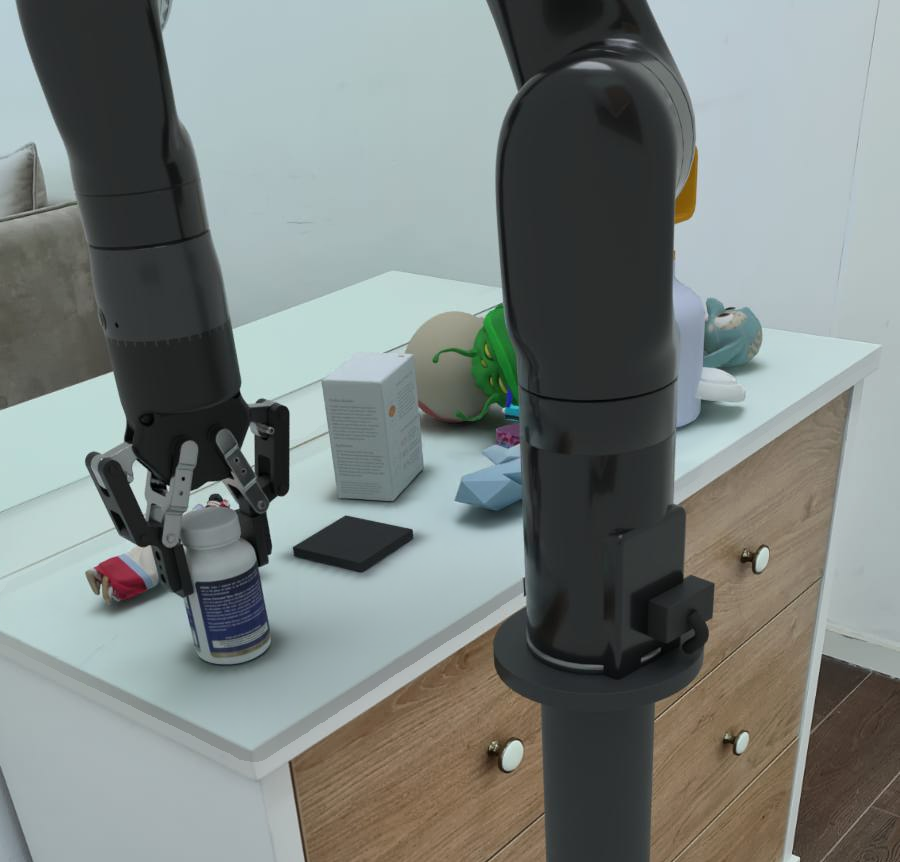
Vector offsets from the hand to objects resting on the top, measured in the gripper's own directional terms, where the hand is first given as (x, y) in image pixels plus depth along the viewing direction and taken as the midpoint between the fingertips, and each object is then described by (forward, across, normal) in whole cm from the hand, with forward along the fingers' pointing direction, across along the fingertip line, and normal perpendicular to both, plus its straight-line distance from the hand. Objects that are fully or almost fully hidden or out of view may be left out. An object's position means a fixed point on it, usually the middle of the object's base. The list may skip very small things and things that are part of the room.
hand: (220, 576), depth 80 cm
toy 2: (-3, +42, +20) cm, 47 cm away
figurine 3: (+1, +35, +10) cm, 37 cm away
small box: (+6, +26, +16) cm, 31 cm away
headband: (+7, +42, +10) cm, 43 cm away
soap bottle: (+6, +54, +8) cm, 54 cm away
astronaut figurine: (+5, +60, +13) cm, 62 cm away
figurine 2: (0, +42, +18) cm, 46 cm away
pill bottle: (+6, 0, 0) cm, 6 cm away
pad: (+5, +16, +7) cm, 18 cm away
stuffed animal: (+6, +70, +14) cm, 71 cm away
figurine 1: (+6, +4, +12) cm, 14 cm away
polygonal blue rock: (+5, +31, +3) cm, 31 cm away
